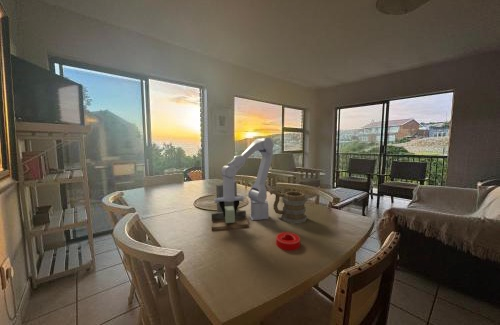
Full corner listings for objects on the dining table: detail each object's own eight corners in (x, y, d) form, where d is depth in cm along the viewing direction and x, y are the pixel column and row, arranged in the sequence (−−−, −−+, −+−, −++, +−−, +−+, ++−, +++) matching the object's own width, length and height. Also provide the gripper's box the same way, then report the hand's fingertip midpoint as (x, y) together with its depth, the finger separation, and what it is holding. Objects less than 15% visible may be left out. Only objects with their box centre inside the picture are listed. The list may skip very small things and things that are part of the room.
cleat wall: (245, 219, 110) (245, 210, 109) (248, 226, 100) (248, 217, 99) (211, 222, 106) (211, 212, 106) (211, 230, 97) (211, 220, 96)
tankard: (307, 216, 113) (308, 190, 111) (303, 225, 101) (304, 196, 100) (273, 211, 121) (273, 187, 120) (266, 219, 110) (266, 192, 108)
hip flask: (220, 216, 115) (219, 181, 113) (215, 214, 117) (213, 180, 115) (238, 208, 127) (237, 177, 125) (233, 207, 130) (232, 176, 128)
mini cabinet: (233, 216, 106) (233, 205, 106) (235, 223, 99) (234, 211, 98) (224, 217, 106) (224, 206, 105) (225, 223, 98) (225, 212, 97)
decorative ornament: (299, 252, 77) (299, 244, 77) (274, 249, 80) (274, 241, 80) (300, 240, 86) (300, 233, 86) (278, 237, 89) (278, 230, 89)
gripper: (214, 192, 96) (215, 219, 97) (244, 190, 99) (244, 217, 100) (214, 188, 103) (214, 214, 104) (242, 187, 106) (242, 212, 107)
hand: (229, 215), depth 103 cm, fingers closed on mini cabinet, 4 cm apart
